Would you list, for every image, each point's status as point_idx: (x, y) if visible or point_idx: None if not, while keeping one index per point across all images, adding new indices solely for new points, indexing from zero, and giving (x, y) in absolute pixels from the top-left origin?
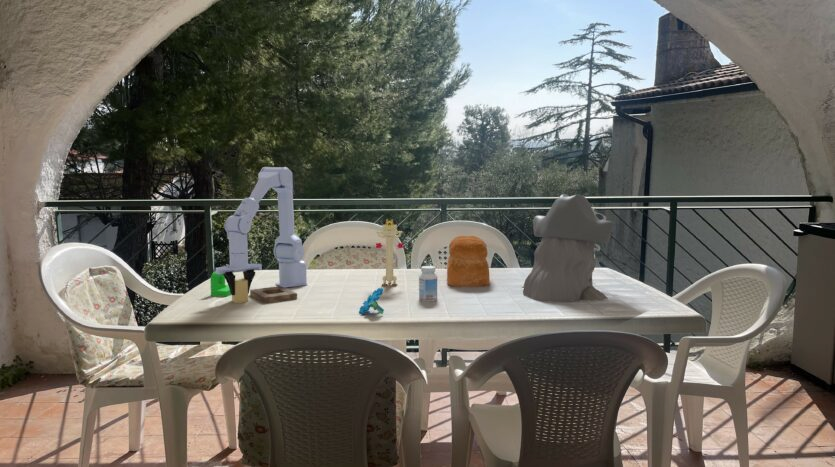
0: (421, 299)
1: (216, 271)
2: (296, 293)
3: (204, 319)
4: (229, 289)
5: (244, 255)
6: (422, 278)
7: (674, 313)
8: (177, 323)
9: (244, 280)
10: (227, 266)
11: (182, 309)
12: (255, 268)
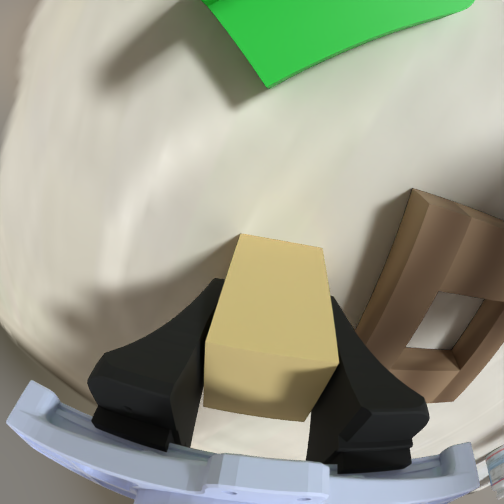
0: (488, 457)
1: (29, 409)
2: (451, 401)
3: (83, 377)
4: (327, 35)
5: None
6: (494, 486)
7: (481, 488)
8: (33, 354)
9: (283, 415)
10: (112, 471)
11: (17, 237)
12: (414, 476)
